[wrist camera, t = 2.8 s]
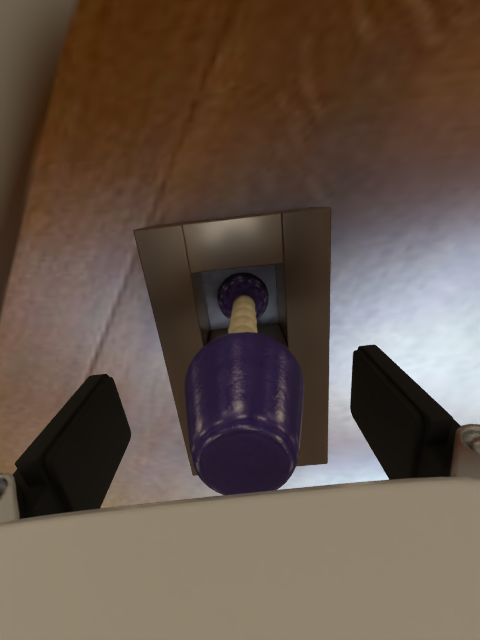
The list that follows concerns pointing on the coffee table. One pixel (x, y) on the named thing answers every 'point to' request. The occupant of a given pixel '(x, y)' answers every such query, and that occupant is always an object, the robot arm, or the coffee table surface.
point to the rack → (292, 330)
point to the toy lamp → (244, 399)
